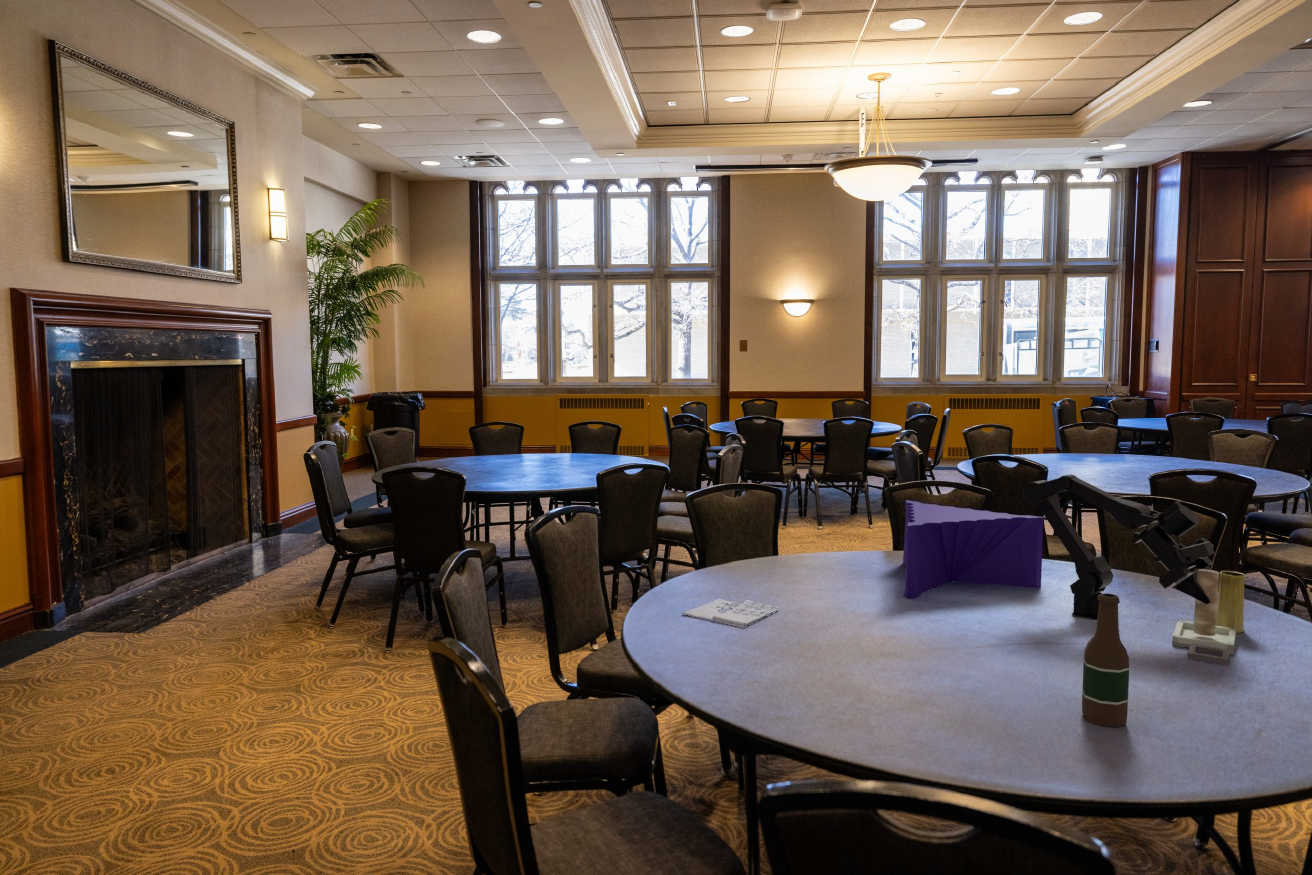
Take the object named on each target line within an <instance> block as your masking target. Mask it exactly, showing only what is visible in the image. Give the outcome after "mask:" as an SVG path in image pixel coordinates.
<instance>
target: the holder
mask: <svg viewBox="0 0 1312 875" xmlns="http://www.w3.org/2000/svg"><path fill="white" fill-rule="evenodd" d="M1198 652H1199V653H1198ZM1229 652H1230V650H1226V649H1219V648H1213V647H1207V646H1201V645H1194V644H1190V647H1189V648H1188V650H1187V659H1190V660H1194V661H1195V660H1196V661H1202V662H1209V663H1213V664H1220V665H1225V666H1228V665H1229V661H1230V654H1229ZM1216 655H1217V656H1216Z"/></svg>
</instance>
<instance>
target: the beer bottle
mask: <svg viewBox="0 0 1312 875" xmlns="http://www.w3.org/2000/svg"><path fill="white" fill-rule="evenodd" d="M1098 600H1099V608H1098V617H1097V619H1096V627H1095V628H1096V629H1095V632H1094V635H1093V636H1092V637H1091V638H1090V639H1089V640H1088V641H1087V644H1086V646H1085V647H1084V654H1083V665H1082V666H1083V667H1082V687H1081V688H1082V689H1081V690H1082V693H1081V694H1082V696H1081V713H1082V716H1083V718H1084V720H1085V721H1087V722H1089V723H1091V724H1094V725H1096V726H1098V727H1107V728H1119V727H1122V726H1126V724H1127V723H1128V722H1127V719H1128V709H1129V708H1128V706H1129V687H1130V686H1129V685H1130V658H1129V654H1128V651H1127V649H1126V646H1125V645H1124V644H1123V642H1122V640H1121V637H1120V629H1119V628H1120V626H1119V624H1120V623H1119V604H1120V602H1121V601H1120V597H1119V596H1118V595H1116V594H1113V593H1106V592H1105V593H1104V592H1103V593H1102V594H1099V596H1098Z"/></svg>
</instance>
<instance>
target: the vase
mask: <svg viewBox="0 0 1312 875" xmlns="http://www.w3.org/2000/svg"><path fill="white" fill-rule="evenodd" d="M1245 578H1246V574H1244V573H1242V572H1239V571H1232V570H1221V571H1220V572H1219V579H1218V596H1217V597H1218V599H1217V613H1216V626H1222V627H1229V628H1235V629H1236V634H1241V633H1244V632H1245V629H1244V628H1245V627H1244V619H1245V618H1244V617H1245V616H1244V603H1245V595H1244V594H1245Z"/></svg>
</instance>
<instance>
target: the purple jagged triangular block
mask: <svg viewBox="0 0 1312 875" xmlns="http://www.w3.org/2000/svg"><path fill="white" fill-rule="evenodd" d="M904 504H905V505H904V506H905V527H904V528H905V529H904V540H903V541H904V542H903V555H902V565H905V566H906V568H905V579H904V589H903V590H904V591H903V597H904V598H905V599H907V600H915V598H916V599H917V598H920V597H921V593H922V594H924V593H927V592H929V591H931V589H932V590H934V589H936V588H938V586H939V587H941V586H943V585H946V584H949V583H961V584H962V583H963V584H976V585H977V584H979V585H990V586H991V585H996V586H1007V587H1008V586H1009V587H1018V588H1024V589H1025V588H1026V589H1027V588H1028V589H1039V588H1042V569H1043V568H1042V566H1043V537H1044V536H1043V535H1044V534H1043V533H1044V523H1045V522H1044V521H1045V518H1044V517H1045V516H1035V515H1029V514H1025V515H1022V514H1021V515H1018V514H1010V513H1007V512H994V511H989V510H977V509H972V508H963V507H962V508H961V507H955V506H946V505H938V504H936V503H935V504H932V503H923V502H920V501H917V500H916V501H913V500H908V499H906V500H904ZM933 588H934V589H933ZM928 590H929V591H928ZM926 591H927V592H926ZM923 592H924V593H923Z"/></svg>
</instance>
